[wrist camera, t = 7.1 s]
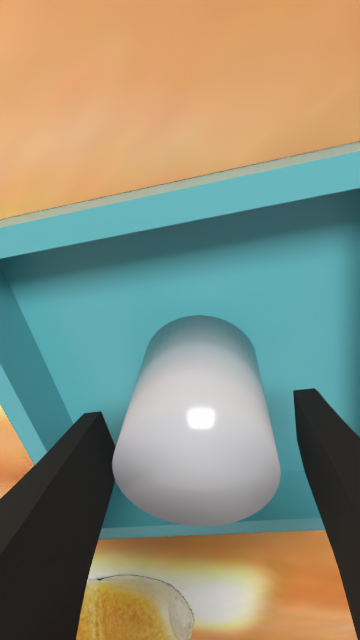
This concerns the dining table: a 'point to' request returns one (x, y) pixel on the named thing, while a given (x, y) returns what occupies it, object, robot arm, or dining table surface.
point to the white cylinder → (198, 427)
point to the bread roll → (133, 610)
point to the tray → (188, 307)
